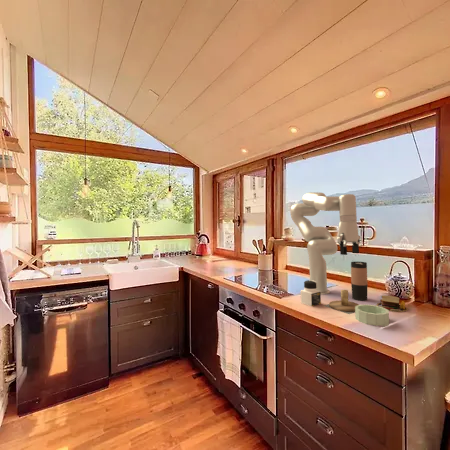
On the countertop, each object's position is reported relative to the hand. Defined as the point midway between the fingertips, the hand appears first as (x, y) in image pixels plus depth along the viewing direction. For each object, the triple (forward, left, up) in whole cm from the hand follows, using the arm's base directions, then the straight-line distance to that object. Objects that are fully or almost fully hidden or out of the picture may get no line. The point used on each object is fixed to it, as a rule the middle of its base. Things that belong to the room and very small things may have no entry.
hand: (349, 253), depth 123 cm
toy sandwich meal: (+12, +13, -27) cm, 32 cm away
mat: (0, -5, -26) cm, 26 cm away
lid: (0, -5, -25) cm, 26 cm away
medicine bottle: (-13, -14, -26) cm, 32 cm away
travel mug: (-4, +13, -26) cm, 30 cm away
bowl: (+16, -10, -26) cm, 32 cm away
